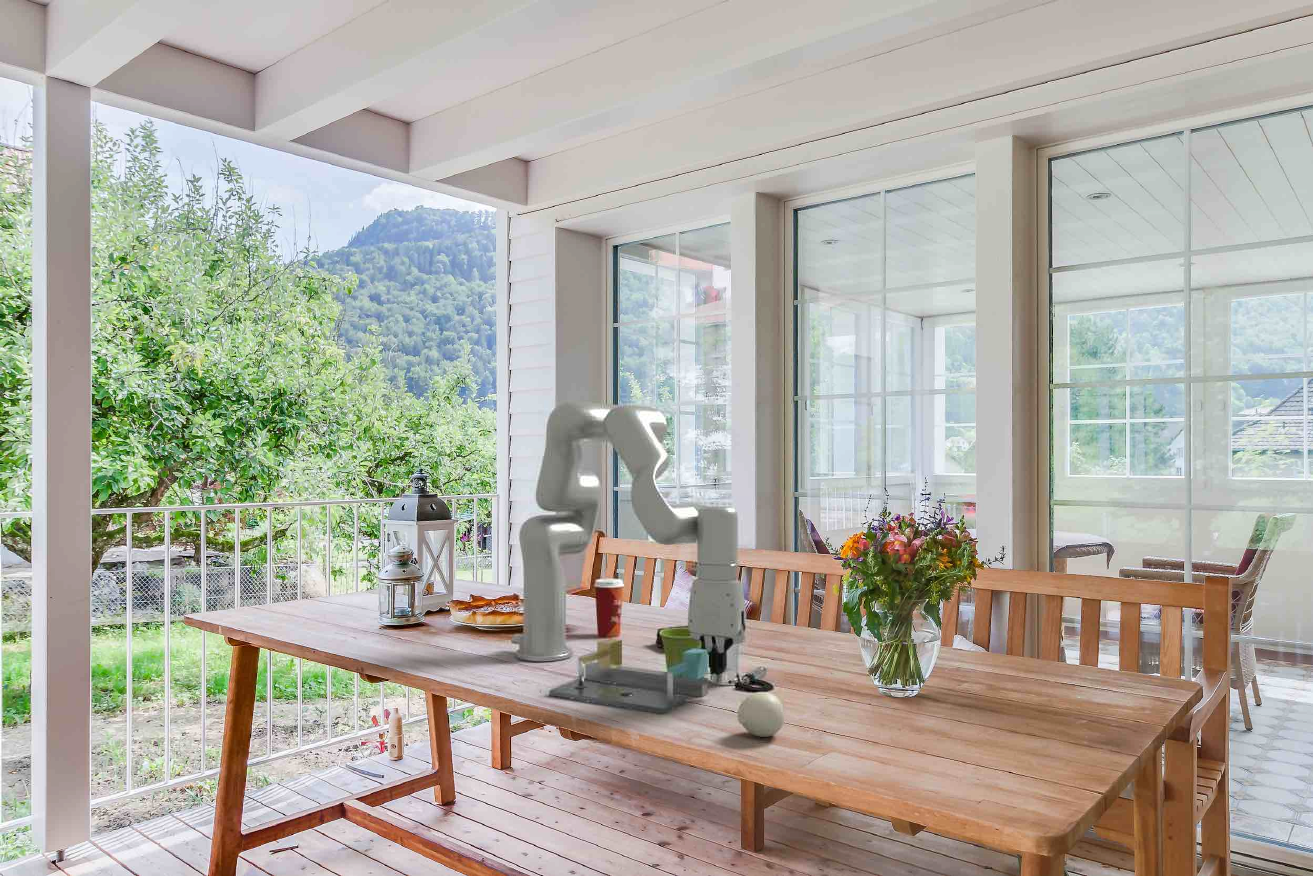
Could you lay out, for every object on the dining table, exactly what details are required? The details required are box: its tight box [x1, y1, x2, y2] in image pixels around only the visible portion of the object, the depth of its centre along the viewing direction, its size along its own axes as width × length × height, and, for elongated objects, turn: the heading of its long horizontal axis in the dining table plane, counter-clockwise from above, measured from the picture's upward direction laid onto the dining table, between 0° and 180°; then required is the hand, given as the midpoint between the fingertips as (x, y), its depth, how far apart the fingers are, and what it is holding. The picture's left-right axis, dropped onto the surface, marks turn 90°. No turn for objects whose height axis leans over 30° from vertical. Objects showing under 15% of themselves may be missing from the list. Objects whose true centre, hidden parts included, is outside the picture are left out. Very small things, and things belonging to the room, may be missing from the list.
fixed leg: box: [577, 638, 623, 686], centre depth 162 cm, size 3×13×6 cm, turn 151°
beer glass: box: [709, 637, 742, 687], centre depth 166 cm, size 7×7×15 cm
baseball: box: [737, 692, 785, 738], centre depth 132 cm, size 7×7×7 cm
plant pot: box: [659, 628, 702, 674], centre depth 172 cm, size 9×9×9 cm
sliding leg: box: [666, 648, 709, 700], centre depth 153 cm, size 3×13×6 cm, turn 151°
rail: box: [584, 661, 709, 698], centre depth 162 cm, size 26×2×3 cm, turn 61°
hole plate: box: [549, 679, 688, 715], centre depth 153 cm, size 24×9×1 cm, turn 61°
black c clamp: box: [734, 666, 774, 693], centre depth 165 cm, size 15×7×2 cm, turn 152°
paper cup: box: [593, 578, 625, 639], centre depth 212 cm, size 8×8×14 cm
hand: (717, 672), depth 155 cm, fingers closed
